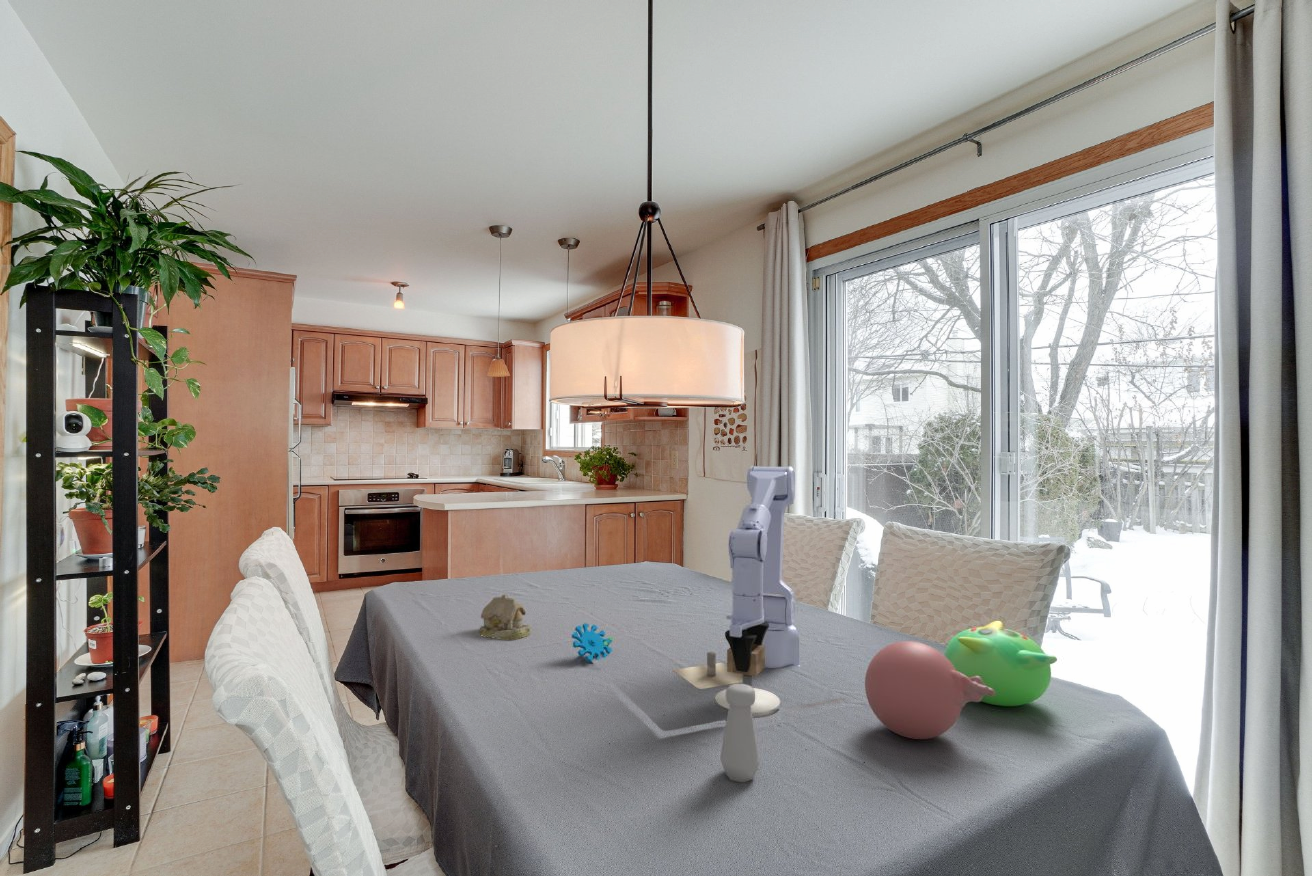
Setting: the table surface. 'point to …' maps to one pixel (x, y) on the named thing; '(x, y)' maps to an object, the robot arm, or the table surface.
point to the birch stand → (709, 674)
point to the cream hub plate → (762, 700)
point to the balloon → (918, 690)
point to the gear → (591, 642)
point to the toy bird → (1002, 663)
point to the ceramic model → (504, 619)
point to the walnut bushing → (755, 661)
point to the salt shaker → (740, 735)
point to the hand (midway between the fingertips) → (747, 665)
